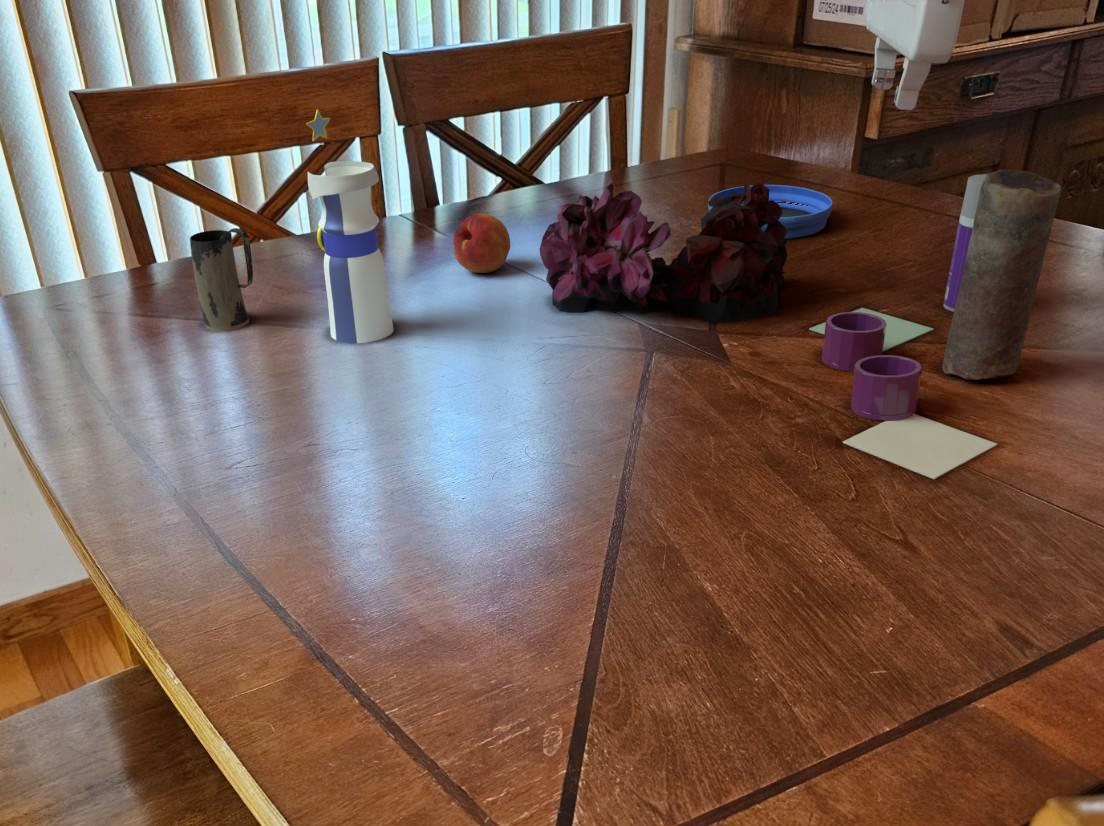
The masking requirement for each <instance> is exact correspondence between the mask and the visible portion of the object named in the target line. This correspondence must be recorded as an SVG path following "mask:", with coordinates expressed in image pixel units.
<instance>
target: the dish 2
mask: <svg viewBox="0 0 1104 826" xmlns="http://www.w3.org/2000/svg"><path fill="white" fill-rule="evenodd" d="M922 369H923V366H922V365H921V363H920V362H919V361H917V360H915V359H913V358H910V357H906V356H901V355H893V354H892V355H891V354H882V355H877V356H871V357H866V358H863V359H861V360H858V361H857V362H856V364H855V365H854V371H853V378H852V386H851V387H852V388H851V396H850V397H851V399H850V403H851V405H850V408H851V410H852V413H854V414H855V415H857V416H859V417H861V418H864V419H867V420H874V421H883V422H885V421H891V420H900V419H904V418H907V417H910V416H912V415H913V414H916V411H917V406H918V401H919V396H920V395H919V394H920V387H921V377H922Z"/></svg>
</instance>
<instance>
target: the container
mask: <svg viewBox="0 0 1104 826" xmlns="http://www.w3.org/2000/svg"><path fill="white" fill-rule="evenodd" d="M986 174H987V173H984V174H973V175H971V176H969V177H968V178H967V183H966V187H965V192H964V197H963V202H962V206H961V211H960V215H959V220H958V225H957V230H956V236H955V241H954V246H953V251H952V255H951V262H950V267H949V272H948V277H947V283H946V289H945V294H944V299H943V305H942V306H943V307H944V309H946V310H947V311H950V312H953V313H954V309H955V305H956V301H957V296H958V292H959V288H960V284H961V280H962V275H963V269H964V265H965V260H966V255H967V251H968V246H969V242H970V237H971V234H972V229H973V224H974V218H975V213H976V209H977V205H978V201H979V195H980V189H981V186H982V183H983V179H984V177H985V176H986Z"/></svg>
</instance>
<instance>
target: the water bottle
mask: <svg viewBox="0 0 1104 826" xmlns="http://www.w3.org/2000/svg"><path fill="white" fill-rule="evenodd" d="M314 115H315V116H314V119H312V120H311V121H308V122H306V123H305V124H306V126H307V127H309V128H310V129H311V130H312V140H311V141H312V142H314V141H315V140H317V139H318V138H320V137H322V138H324V139H328V134H327V130H326V126H327V125H328V124H329V122H330V121H331V117H323V116H322V115H321V113H320V111H319V109H316V112H315V114H314ZM323 168H324V175H321V174H320V175H318V174H313V173H310V172H309V171H307V186H308V191H309V194H310V196H311V199H312V200H315V199H316V198H319V200H320V202H321V217H320V219H319V221H318V228H317V233H316V240H317V241H316V242H317V244H318V247H319V248H320V250H321V251H323V252H324V257H323V272H324V279H325V289H326V297H327V298H326V299H327V307H328V317H329V330H330V337H331V338H332V339H333V340H334V341H336V342H339V343H344V344H367V343H373V342H377V341H381V340H383V339H385V338H387V337H389V336H391V335H392V334H393V332H394V324H393V317H392V312H391V305H390V300H389V299H390V298H389V293H388V291H389V290H388V283H387V276H386V268H385V262H384V261H385V260H384V257H383V254H382V252H381V250H380V248H379V242H378V241H379V240H378V231H377V225H378V224H379V223H380V218H379V217H378V216H377V214H376V212H375V211H374V208H373V204H372V187H373V186H374V185H376V184H378V183H379V181H380V177H379V174H378V172H377V170H376V167H375V165H374V164H373V163H371V162H367V161H359V160H358V161H354V160H341V161H340V160H339V161H330V162H327V163H326V164H325V165H323Z"/></svg>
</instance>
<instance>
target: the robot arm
mask: <svg viewBox="0 0 1104 826" xmlns="http://www.w3.org/2000/svg"><path fill="white" fill-rule="evenodd" d="M965 1H966V0H866V4H865V5H866V6H865V28H866V29H867V31H869V32H870V33H872V34H873V35H875V37H876V40H875V45H874V69H873V74H872V77H871V85H872V87H873V88H875V89H876V90H879V91H881V90H883V91H889V90H891V89H892V87H893V85H894V79H895V76H896V72H897V71H896V70H895V68H896V61H897V56H898V53H900V54H901V55H902V56H903V57H904V60H903V65H902V69H903V72H902V75H901V79H900V82H899V85H896V87H895V92H894V98H893V101H892V103H893V105H894V106H895V107H896V108H897V109H898V110H903V111H913V110H914V109H915V108H916V107H917V103H918V99H919V95H920V91H921V89H922V87H923V85H924V83H925V82H926V79H927V77H928V75H929V73H930V71H931V67H932V64H946V63H948V62H949V60H950V59H951V57H952V55H953V53H954V50H955V47H956V45H957V40H958V35H959V31H960V26H961V21H962V17H963V12H964V11H963V10H964V5H965Z"/></svg>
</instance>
